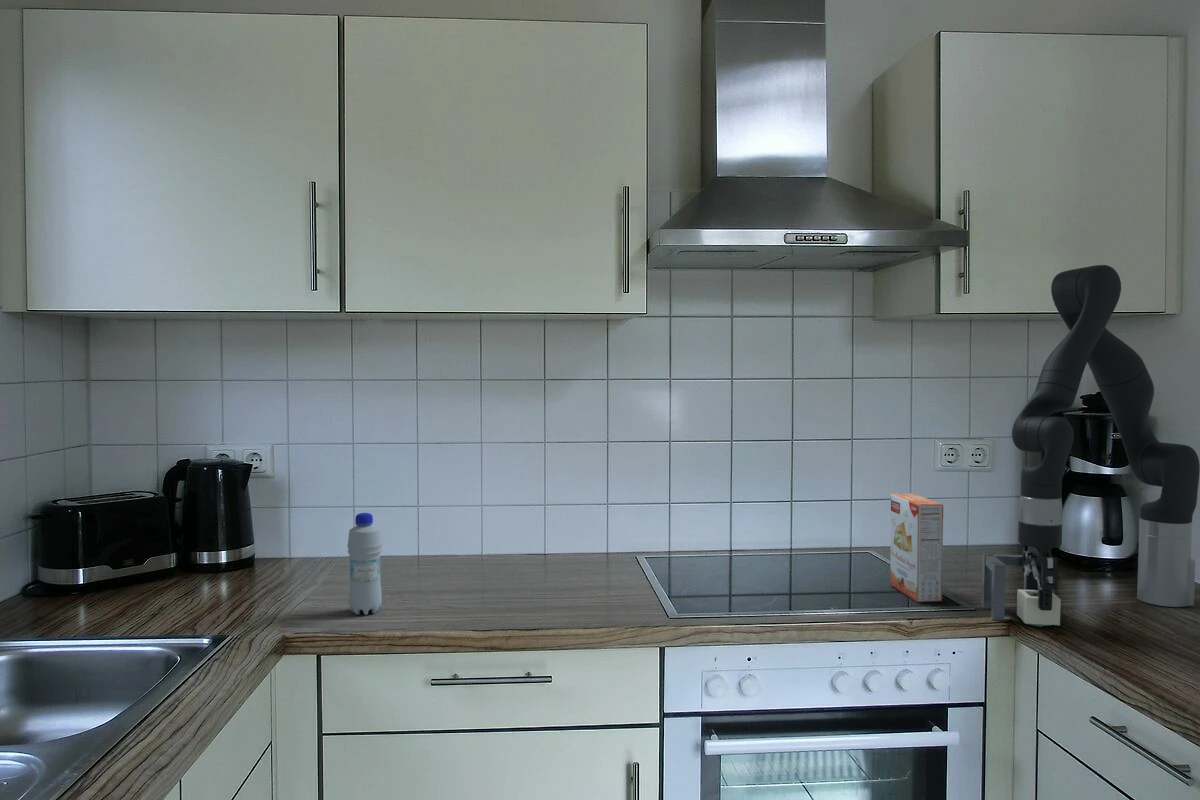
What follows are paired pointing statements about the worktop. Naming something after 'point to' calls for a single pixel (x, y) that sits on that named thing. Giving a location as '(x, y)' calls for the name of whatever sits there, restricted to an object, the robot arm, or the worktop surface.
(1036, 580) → the robot arm
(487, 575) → the worktop surface
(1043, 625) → the peg
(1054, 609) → the white square tube
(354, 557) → the bottle
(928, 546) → the cracker box
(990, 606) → the rail
